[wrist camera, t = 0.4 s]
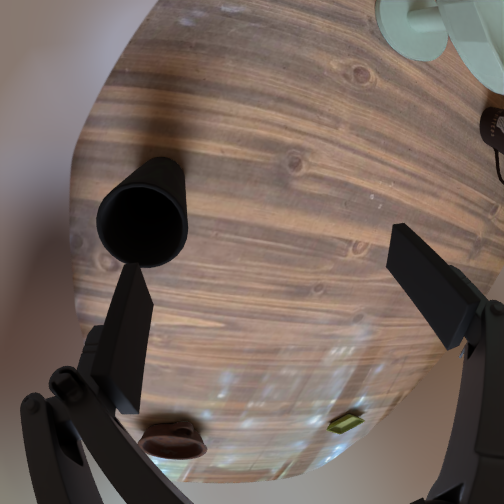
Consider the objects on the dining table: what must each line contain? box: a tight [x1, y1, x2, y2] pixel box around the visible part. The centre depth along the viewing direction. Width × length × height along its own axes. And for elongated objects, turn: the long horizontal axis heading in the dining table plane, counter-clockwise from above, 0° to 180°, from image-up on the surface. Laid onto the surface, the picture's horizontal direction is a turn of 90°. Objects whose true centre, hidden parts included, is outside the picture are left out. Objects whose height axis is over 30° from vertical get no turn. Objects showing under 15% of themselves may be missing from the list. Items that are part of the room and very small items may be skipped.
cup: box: [96, 157, 188, 268], centre depth 28 cm, size 8×8×12 cm
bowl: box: [375, 0, 504, 95], centre depth 17 cm, size 16×16×18 cm
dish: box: [138, 422, 207, 460], centre depth 63 cm, size 18×22×5 cm
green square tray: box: [327, 414, 365, 434], centre depth 72 cm, size 9×9×2 cm
